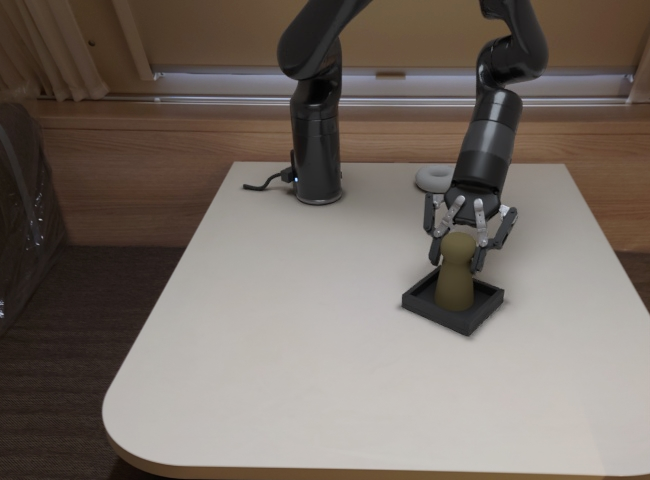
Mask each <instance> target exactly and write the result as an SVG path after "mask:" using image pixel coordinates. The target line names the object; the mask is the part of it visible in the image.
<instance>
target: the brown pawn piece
mask: <svg viewBox="0 0 650 480" xmlns="http://www.w3.org/2000/svg"><path fill="white" fill-rule="evenodd" d="M476 246H477V247H478V244H477V240H476V239H475V237H474V236H473V235H471V234H470V233H467V232H464V231H451V232H450V233H449V234H447V235H445V236H444V237H443V239H442V241H441V244H440V250H441V257H442V260H441V264H440V265H441V269H440V273H439V277H438V282H437V286H436V290H435V295H434V302H435V303H436V305H438V306H439V307H440V308H443V309H445V310H448V311H464V310H466V309H469V308H470V307H471V306H472V305H473V302H474V296H473V278H474V277H473V276H474V275H473V274H471V273H470V268H471V264H472V260H473V257H474V253H475V250H476Z"/></svg>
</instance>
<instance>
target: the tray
mask: <svg viewBox="0 0 650 480" xmlns="http://www.w3.org/2000/svg"><path fill="white" fill-rule="evenodd" d="M440 269H441V264H438V266H436V267H435V268H434V269H433V270H431V271H430V272H429V273H428V274H426V275H425V276H424V277H423V278H421V279H420V280H419V281H417V282H416V283H415V284H414V285H412V286H411V287H410V288H408V289H407V290H406V291H405V292H403V293H402V294H401V308H403V309H405V310H408V311H410V312H412V313H414V314H417V315H419V316H421V317H423V318H426V319H428V320H430V321H433V322H435V323H437V324H439V325H442V326H444V327H446V328H448V329H450V330H452V331H455V332H457V333H459V334H461V335H464V336H466V337H469V336H470V335H472V334H473V332H475V330H476V329H477V328H478V327H480V326H481V324H483V323H484V321H485V320H486V319H487V318H489V316H491V315H492V314H493V312H495V311H496V309H498V307H499V306H501V305H502V304H503V302H504V299H505V293H506V289H504V288H502V287H498V286H496V285H495V284H494V285H493V284H491V283H489V282H487V281H483V280H481V279H478V278H475V277H473V296H474V302H473V305H472V306H471V307H470V308H469V309H466V310H464V311H448V310H445V309H443V308H440V307H439V306H438V305H436V303H435V302H434V295H435V290H436V286H437V282H438V277H439V273H440Z"/></svg>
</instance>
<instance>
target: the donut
mask: <svg viewBox="0 0 650 480" xmlns="http://www.w3.org/2000/svg"><path fill="white" fill-rule="evenodd" d="M454 170H455V167H453V166H451V165H447V164H441V163H440V164H439V163H437V164H436V163H435V164H428V165H424V166H422V167H421V168H419V169H418V170H417V172H416V173H415V176H414V179H415V184H416V185H417V186H418V187H419V188H420V189H421V190H423V191H424V192H425V191H426V192H432V193H433V194H434V193H435V194H444V193H445V192H446V191H447V190H448V189H449V187H450V184H451V180H452V177H453V173H454Z"/></svg>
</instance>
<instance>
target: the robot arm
mask: <svg viewBox="0 0 650 480" xmlns="http://www.w3.org/2000/svg"><path fill="white" fill-rule="evenodd" d="M372 2H374V0H308V1H306V3H305V4H304V6H303V7H302V8H301V9H300V10H299V12H298V13H297V14H296V16H294V18H293V19H292V20H291V22H290V23H289V24H288V25H287V27H286V28H285V29H284V30H283V32H282V33H281V34H280V37H279V39H278V42H277V46H276V60H277V61H276V62H277V65H278V67H279V68H280V70H281V72H282V73H283V74H284V76H285V77H287V78H289V79H291V80H292V81H297V84H296V87H295V90H294V92H293V93H292V95H291V96H290V98H289V115H290V126H291V138H292V147H293V148H292V149H290V151H289V156H290V164H291V165H290V166H288V167H286V168H283V169H282V170H280V171H279V172H276V173H274V174H272V175H270V176H269V177H268V178H267V179H266V180H265V182H264V183H263V185H261V186H259V185H258V186H255V185H251V184H247V183H243V184H242V188H243V189H249V190H252V191H262V190H266V188H267V187H268V186H269V185H270V183H271V182H272V181H273V180H275V179H276V178H279V177H280V181H281V182H284V183H286V184H290V183H292V189H293V195H295V196H296V198H297V200H299V201H300V202H302V203H304V204H309V205H326V204H331V203H334V202H336V201H338V200H339V199H341V197H342V196H343V189H342V179H343V171H342V165H341V164H342V163H341V140H340V139H341V138H340V136H341V135H340V114H339V111H340V110H339V104H340V100H341V98H342V92H343V51H342V41H341V38H340V35H341V34H342V32H343V31H344V29H345V28H346V27H347V26H348V25H349V24H350V23H351V22H352V21H353V20H354V19H355V18H356V17H357V16H358V15H360V13H362V12H363V11H364V10H365V9H366V8H367V7H369V5H370V4H371V3H372ZM478 6H479V11H480V14H481V17H482V18H483V19H485V20H486V21H503V22H504V23H505V25H506V26H507V28H508V30H509V32H510V34H505V35H502V36H498V37H495V38H492V39H490V40H489V39H488V41H486V42H485V43H484V45H483V46H482V47H481V48H480V50H479V52H478V53H477V56H476V60H475V103H474V107H473V110H472V112H471V117H470V120H469V124H468V127H467V130H466V132H465V134H464V136H463V140H462V142H461V145H460V148H459V152H458V156H457V159H456V164H455V167H454V168H455V170H454V173H453V177H452V180H451V184H450V187H449V189H448V190H447V191H446V192H445V193H437V194H434V192H429V191H426V193H425V196H424V208H423V222H422V223H423V224H422V228H423V230H424V231H425V233H426V235H428V236H430V237H431V238H432V240H431V244H430V247H429V251H428V254H427V255H428V256H427V257H428V260H429V261H430V264H431V266H434V267H438V266H439V265H440V261H441V257H442V254H441V250H440V244H441V241H442V239H443V237H444V236H445V235H447V234H449V233H451V232H453V231H454V229H455V228H456V227H457V226H468V227H470V228H473V229H476V231H477V237H478V244H477V246H476V250H475V253H474V257H473V258H472V264H471V268H470V273H471V274H473V276H477V274H478V273H481V272H482V270H483V269H484V267H485V266H484V265H485V262H486V259H487V255H488V252H489V251H493V250H497V251H500V250H502V249H503V247H504V245H505V244H506V241H507V240H508V237H509V236H510V234H511V232H512V231H513V228H514V226H515V224H516V223H517V221H518V218H519V212H518V208H516V207H515V206H511V207H509V206H506V205H504V204H502V201H501V199H502V198H501V197H502V194H503V190H504V186H505V183H506V179H507V176H508V172H509V168H510V166H511V164H512V161H513V160H512V157H513V153H514V149H515V140H516V136H517V132H518V129H519V125H520V121H521V117H522V115H523V108H524V104H523V103H524V102H523V100H522V98H521V96H520V95H519V94H518V93H517V92H515V91H513V90H512V89H508V88H506V86H509V85H514V84H519V83H526V82H531V81H534V80H537V79H539V78H540V77H541V76H543V74H544V73H545V71H546V69H547V67H548V64H549V59H550V51H549V50H550V49H549V44H548V40H547V37H546V35H545V33H544V30H543V27H542V26H541V23H540V21H539V19H538V17H537V14H536V11H535V8H534V6H533V3H532V0H478ZM443 203H444V204H445V207H446V210H447V212H446V213H445V214H444V215H443V217H442V218H441V221H440V222H439V224H438V226H437V227H436V213H437V210H439V209H440V208H441V205H442V204H443ZM499 213H500V216H499V218H500V221H501V223H500V226H499V227H498V229H497V232H496V233H495V235H494V237H491V238H489V230H488V222H489V221H490V220H492V219H493V218H494V217H496V215H498V214H499Z"/></svg>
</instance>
